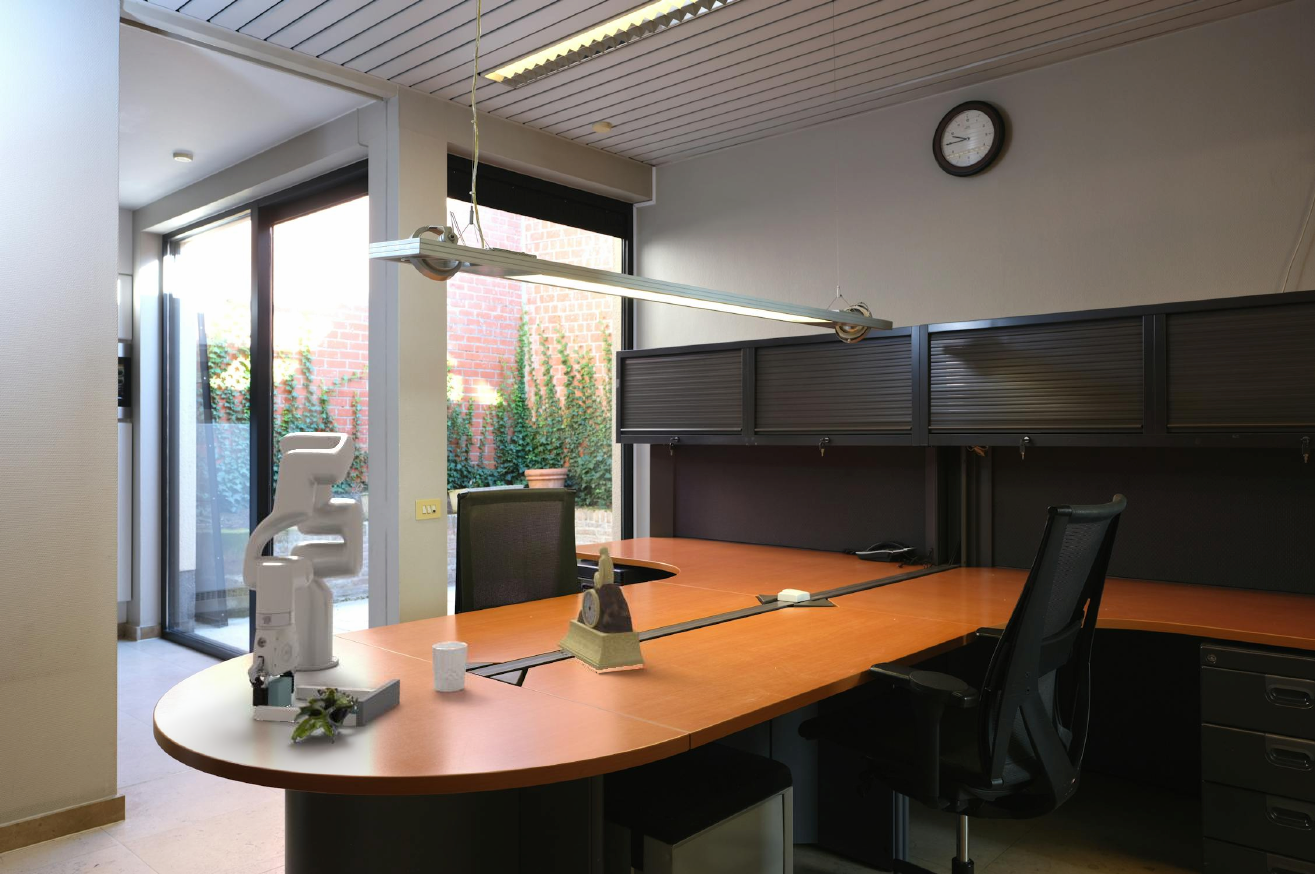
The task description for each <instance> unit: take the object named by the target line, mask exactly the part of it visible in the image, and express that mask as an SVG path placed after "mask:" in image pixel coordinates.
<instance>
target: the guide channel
mask: <svg viewBox="0 0 1315 874" xmlns="http://www.w3.org/2000/svg"><path fill="white" fill-rule="evenodd" d="M326 687H327V686H319V685H317V686H315V685H298V686H296V688H295V689H296V691H295V694H296V696H295V699H296V698H304V699H303V700H307V699H308V698H314V699H316V698H315V696H316V697H317V695H318V696H319V693H318V692H317V690H318V689H320V690H326V689H325V688H326ZM329 687H330V688H333V689H334V688H338V691H339V692H340V691H341V693H343V692H345V693H346V695H347V694H350V696H349V697H351V696H353V697H354V698H353V700H354V701H355V700H356V698H357V697H358V702H357V703H358V705H357V706H356V707H355V709H358V710H359V713H358V714H348V715H347V717H346V718H345V719H344V721H343V725H342V726H349V727H350V726H351V727H352V726H353V727H364V726H366V725H367V724H369V723H370V722H372V721H373V720H376V718H378V717H379V716H381V715H382V714H384V713H386V712H387V711H389V710H390V709H392V708H393V707H395V706H396V705H397V704H399V703H400V701H401V700H400V699H401V691H400V690H401V679H400V678H392V679H391V680H389V681H388V682H386V683H384V684H382V685H381V686H379V687H378V688H376V689H374V688H357V687H355V688H354V687H336V686H335V687H334V686H329ZM314 695H315V696H314ZM323 695H324V693H323ZM300 712H301V710H300V709H299V707H290V706H288V707H275V706H257V707H256V706H254V720H255V719H259V720H258V721H263V720H275V721H274V722H280V721H294V718H295V717H296V716H297V715H296V713H300ZM307 718H308V716H307V715H306V716H305V717H302V718H301V719H298V720H297V721H296V722H295V723H297V722H303V721H304V720H305V719H307Z"/></svg>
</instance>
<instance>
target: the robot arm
mask: <svg viewBox="0 0 1315 874" xmlns="http://www.w3.org/2000/svg"><path fill="white" fill-rule="evenodd" d="M279 447H280V452H281V456H282V457H280V461H279V466H278V473H277V479H276V480H277V481H276V488H275V495H274V500H273V501H274V502H273V509H272V512H271V513H270V514H269V515H268V516H267V517H265V518H264V519H263V520H262V521H260V523H259V524H258V525H257V526H256V528H255V529H254V530H253V532H252V533H251V535H250V537H249V538H248V541H247V543H246V547H245V554H244V558H243V559H244V561H243V566H242V581H243V584H244V586H245V587H246V588H248V589H249V590H251V591H255V592H256V596H255V597H256V601H255V603H256V604H255V629H256V630H255V634H254V635H255V636H254V643H253V655H252V665H251V666H250V667H249V668H248V670H247V675H248V678H249V682H250V686H251V688H252V706H253V707H256V706H268V692H269V687H266V686H267V684H268V681H269V679H270V676H273V677H292V687H291V695H293V694H294V693H295V675H296V673H297V671H299V670H301V672H302V671H304V672H305V671H306V672H307V671H319V670H320V671H321V670H324V669H325V670H326V669H329V668H332V667H336V666H337V665H338V664H339V663H340V662H339V661H340V659H339V657H337V656H335V655H333V650H334V648H333V645H334V643H333V642H334V637H333V636H334V635H333V634H334V594H333V591H332V589H331V588H330V586H329V585H328V584H327V583H326V581H325V580H324V579H350V578H351V579H353V578H357V577H358V576H359V575H360V574H361V572H362V569H363V564H364V519H363V518H364V517H363V516H364V515H363V509H362V506H361V503H359V501H357V500H355V499H352V498H334V497H333V487H332V486H337V485H341V484H342V483H343V482H344V480H345V479H346V476H347V475H348V472H349V470H350V467H351V465H352V463H353V461H354V458H355V454H356V445H355V441H354V439H353V438H352V435H349V434H348V433H341V432H292V433H288V434H285V435H284V436H282V437H281V439H280V441H279ZM292 527H297V531H298V532H299V533H300V534H301V535H303V536H304V535H305V536H308V537H309V536H311V537H313V536H315V537H334V536H335V537H336V536H337V537H341V538H342V539H343V540H306V541H301V542H298V543H297V544H295V545H294V546H293V547H292V548H291V551H290V554H289V556H288V555H287V556H284V555H267V556H266V555H265V556H263V555H262V553H263V550H264V548H265V546H266V544H267V543H268V542H269V541H270V540H272V538H273V537H276V535H278V534H280V533H282V532H284V531H286V530H289V529H291V528H292ZM262 678H263V679H262ZM262 680H263V681H262Z"/></svg>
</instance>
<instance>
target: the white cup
mask: <svg viewBox="0 0 1315 874" xmlns="http://www.w3.org/2000/svg"><path fill="white" fill-rule="evenodd" d="M431 648H432V668H433V669H432V670H433V678H434V679H433V682H434V683H433V687H434V690H435V691H437V692H442V693H453V691H454V692H458V691H461V689H462V690H463V689H464V688H465V679H466V674H467V673H466V672H467V671H466V670H467V655H468V644H467V643H466V642H464V641H463V642H461V641H442V642H437V643H434V644H433V645H432V647H431Z"/></svg>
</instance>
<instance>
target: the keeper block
mask: <svg viewBox="0 0 1315 874" xmlns="http://www.w3.org/2000/svg"><path fill="white" fill-rule="evenodd" d="M261 680H262V681H263V679H261ZM266 687H269V692H268V706H275V707H287V706H288V707H290V706H292V694H291V687H292V677H280V676H275V677H273V676H270V679H269V681H268V684H267V686H266ZM289 705H290V706H289ZM255 707H257V706H255Z"/></svg>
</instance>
